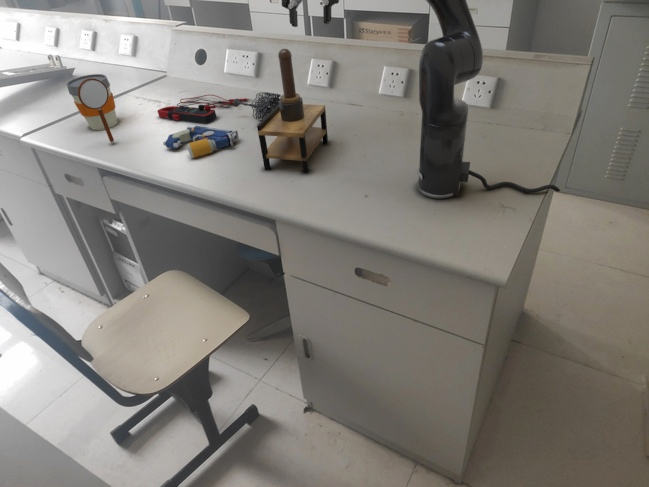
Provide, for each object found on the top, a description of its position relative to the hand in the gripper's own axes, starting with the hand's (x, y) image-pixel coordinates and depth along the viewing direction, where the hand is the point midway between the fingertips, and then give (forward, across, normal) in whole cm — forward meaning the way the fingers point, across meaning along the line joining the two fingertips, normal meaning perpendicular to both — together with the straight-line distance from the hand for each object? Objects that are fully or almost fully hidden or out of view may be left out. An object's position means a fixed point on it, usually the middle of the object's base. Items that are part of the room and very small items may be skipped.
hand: (310, 25), depth 113 cm
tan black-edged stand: (+32, -5, +2) cm, 33 cm away
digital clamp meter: (+19, -51, +26) cm, 60 cm away
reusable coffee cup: (+23, -80, +9) cm, 84 cm away
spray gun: (+30, -36, +1) cm, 47 cm away
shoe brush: (+22, -5, -2) cm, 23 cm away
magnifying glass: (+29, -66, -2) cm, 72 cm away
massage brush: (+23, -25, +20) cm, 40 cm away
